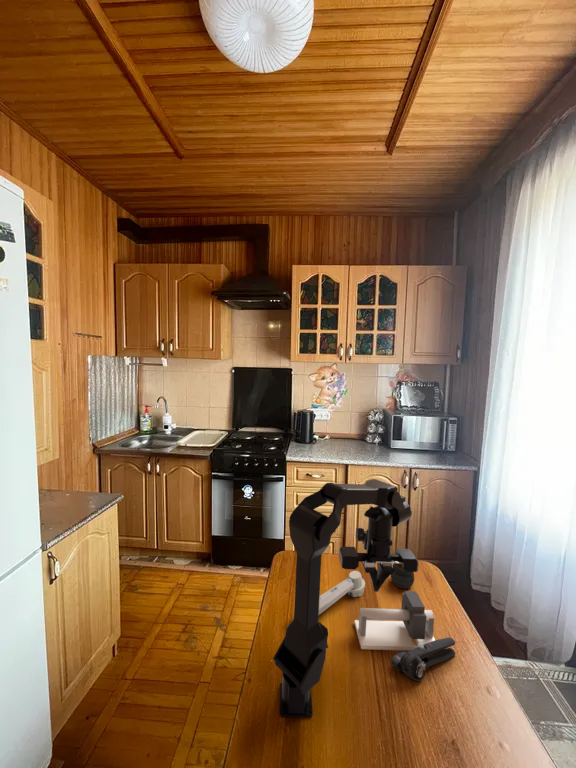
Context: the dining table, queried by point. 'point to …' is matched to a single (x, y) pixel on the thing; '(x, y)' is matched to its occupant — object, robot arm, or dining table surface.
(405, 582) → the mate gourd
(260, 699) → the dining table surface
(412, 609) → the stepped block
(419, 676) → the can opener
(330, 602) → the light grey long piece
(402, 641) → the pipe stand
